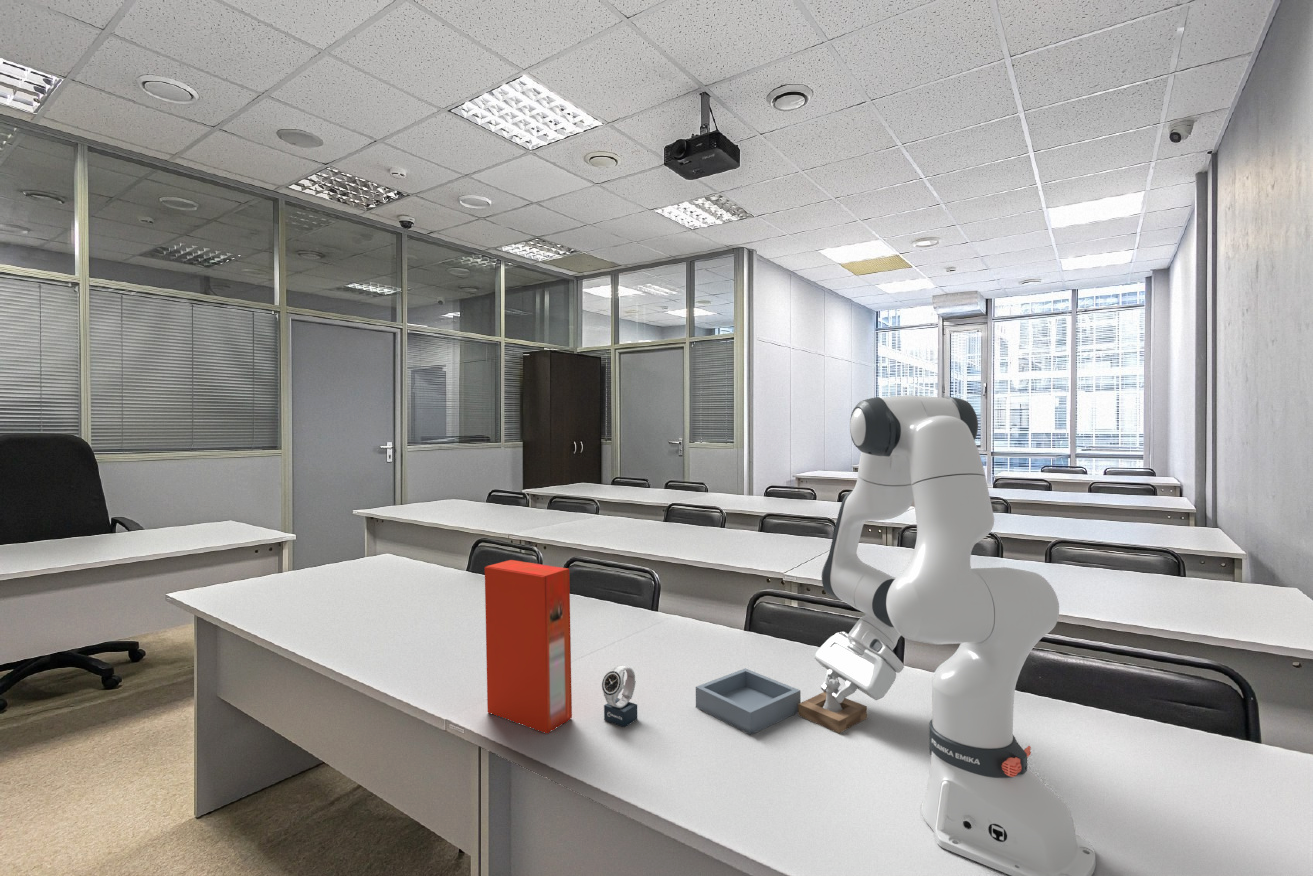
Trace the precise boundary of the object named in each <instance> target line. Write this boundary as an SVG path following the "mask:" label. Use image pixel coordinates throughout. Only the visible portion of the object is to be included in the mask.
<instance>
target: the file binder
mask: <svg viewBox="0 0 1313 876" xmlns="http://www.w3.org/2000/svg"><path fill="white" fill-rule="evenodd" d="M570 581H571V580H570V569H569V568H568V567H567V568H566V567H561V566H553V565H547V564H540V563H534V562H527V561H521V560H514V559H509V560H505V561H501V562H497V563H493V564H490V565H486V566H485V567H484V594H485V595H484V596H485V597H484V598H485V599H484V600H485V601H484V602H485V604H484V607H485V641H486V642H485V643H486V644H485V648H486V651H485V652H486V653H485V654H486V655H485V657H486V694H487V695H486V697H487V699H486V700H487V701H486V702H487V704H486V705H487V713H488V714H490V713H492V714H494V715H493V716H495V715H497V716H496V717H498V716H500V717H499V718H501V717H503V718H502V719H504V718H506V719H509V720H511V721H510V722H512V721H514V722H513V723H515V722H516V723H515V724H518V723H520V724H523V725H525V726H524V727H526V726H527V727H526V728H529V727H531V728H530V729H532V728H534V729H535V731H537V730H539V731H538V732H540V731H542V732H541V733H543V732H545V733H544V734H546V733H548V734H549V732H550V731H551V730H553V731H554V730H556V729H557V728H556V727H558V728H559V727H560V725H561V724H562V725H564V724H565V723H567V722H569V721H570V720H571V719H572V717H573V711H572V710H573V708H572V707H573V705H572V703H573V702H572V701H573V699H572V652H571V651H572V647H571V646H572V644H571V641H572V638H571V596H570V595H571V593H570V592H571V591H570V590H571V589H570V587H571V586H570V585H571V584H570ZM492 714H491V715H492ZM506 719H505V720H506ZM509 720H508V721H509ZM568 720H569V721H568ZM563 723H564V724H563ZM520 724H519V725H520ZM523 725H522V726H523ZM562 725H561V726H562ZM555 728H556V729H555ZM534 729H533V730H534ZM551 732H552V731H551ZM551 732H550V733H551Z"/></svg>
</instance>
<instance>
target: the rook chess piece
mask: <svg viewBox="0 0 1313 876" xmlns="http://www.w3.org/2000/svg"><path fill="white" fill-rule="evenodd" d="M839 681H840V679H839V677H838V678H836V680H835V677H832V679H831V677H828V678H826V681H825V680H824V682H825V685H826V686H827V689H826V692H827V696H826V702H825V704H824V706H823V708H825V709H827V710H829V711H832V712H834V713H837V712H839V711H841V710H843V709H842V708H841V705H840V703H839V702H838V701H836V700H835V699H834V698H833V697H832V694H833V693H834V691H835V690H836V689H837V690H839V687H840V686H841V683H840V682H839Z"/></svg>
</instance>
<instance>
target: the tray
mask: <svg viewBox="0 0 1313 876" xmlns="http://www.w3.org/2000/svg"><path fill="white" fill-rule="evenodd" d="M801 694H802V693H801V690H800V689H798V688H795V687H794V686H790V685H788V684H786V683H783V682H781V681H778V680H775V679H773V678H771V677H769V676H766V675H763V674H761V673H758V672H756V671H753V670H751V669H748V668H742V669H740V670H737V671H735V672H731V673H728V674H727V675H724V676H722V677H718V678H716V679H714V680H710V681H707V682H705V683H702V684H700V685H697V686H695V708H697V709H698V710H701V711H702V712H705V713H706V714H708V715H710V716H712V717H714V718H716V719H718V720H720V721H722V722H724V723H726V724H728V725H730V726H732V727H734V728H736V729H737V730H740V731H742V732H743V733H745V734H747V735H749V736H752V735H754V734H756V733H758V732H761V731H762V730H764V729H767V728H768V727H771V726H772V725H775V724H777V723H779V722H781V721H783V720H785V719H788V718H790V717H791V716H793V715H796V714H797V713H798V714H799V703H801V700H802V699H801Z"/></svg>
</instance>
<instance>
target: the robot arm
mask: <svg viewBox="0 0 1313 876" xmlns="http://www.w3.org/2000/svg"><path fill="white" fill-rule="evenodd" d="M978 430H979V420H978V416H977V413H976V411H975V409H974V407H973V406H972V404H971V403H970V402H968V401H967V400H965V399H962V398H958V397H953V396H944V397H943V396H942V397H939V396H938V397H937V396H923V395H922V396H921V395H919V396H918V395H914V394H913V395H912V394H911V395H910V394H907V395H896V396H895V395H894V396H887V397H879V396H876V397H870V398H866V399H864V400H860V401H859V402H857V404H856V405H855V407H854V408H853V410H852V412H851V415H850V421H849V431H850V437H851V441H852V443H853V445H854V446H855V447H856V448H857V449H858V450H859V452H860V456H859V461H858V462H859V463H858V470H857V477H856V483H855V486H854V488H853V490H850V491H848V492H847V493H846V494H845V496H844V497H843V499H842V501H841V505H840V507H839V511H838V514H837V518H836V523H835V527H834V530H833V534H832V535H833V536H832V540H831V543H830V548H829V552H828V554H827V555H828V556H827V558H826V560H825V563H824V565H823V568H822V571H821V582H822V583H821V584H822V587H823V590H824V592H825V593H826V594H827V595H828V596H830V597H832V598H834V599H836V600H839V601H841V602H844V603H846V604H847V605H849V606H851V607H853V608H854V609H855V610H857V611H860V612H862V613H864V615H863V616H861V617H860V618H859V619H858V621H856V623H855V624H854V626H853V627H852V629H851V630H850V631H849V633H847V632H846V631H840V632H836V633H835V634H834V635H831V636H830V637H828V639H827V640H825V641H824V643H822V645H821V646H820V647H819V648H818V649H816V650H817V651H815V654H814V659H815V661H816V662H818V663H819V665H821V667H823V668H824V669H826V670H827V671H826V672H825V677H824V681H823V683H822V684H821V685H820V689H821V691H823V692H825V693H826V694H827V692H826V689H827V686H826V685H825V681H826V678H828V677H831V679H832V677H835V680H836V678H838V679H839V678H840V679H841V680H843V681H844V686H843V687H841V688H840V689H838V690H837V689H836V690H835V691H834V693H833V694H832V697H833V698H834V699H835V700H836V701H838V702H839V703H841V702H842V701H843V700H844V698H847V697H849V696H851V695H853V694H854V693H856V691H857V690H859V691H860V692H862V693H864V694H866V696H868V697H870V698H872V699H873V700H874V701H878V700H880V699H882V698H884V697H885V695H886V694H887V693H888V692H889V690H890V689H891V687H892V686H893V684H894V683H895V681H896V679H897V674H899V673H900V672H902V671H903V670H904V667H905V664H904V663H903V662H902V661H901V660H900V659H899V658H898V657H897V655H896V654H895V652H894V651H893V650H894V649H895V648H896V646H897V644H898V640H899V639H900V637H902V638H904V639H906V640H909V641H913V642H914V641H915V642H919V643H925V644H931V645H956V644H959V646H958V648H957V649H956V650H955V652H954V654H952V655H951V656H950V657H949V658H947V659H946V660H945V661H943V662H942V663H941V664H939V666H938V667H937V668H936V669H935V671H934V672H933V675H932V679H931V702H932V703H931V704H932V706H931V709H932V711H931V714H932V715H931V720H930V721H929V728H928V729H929V730H928V732H929V733H928V750H929V755H930V767H929V776H928V781H927V786H926V791H925V795H924V798H923V800H922V804H921V807H920V808H921V809H920V810H921V812H920V813H921V816H922V817H923V819H924V821H925V822H926V824H927V825H928V826H929V827H930V828H931V829H932V831H933V832H934V837H935V841H936V843H937V844H938V845H939V847H941V848H943V849H944V850H947V851H949V852H952V853H954V854H956V855H960V856H962V857H964V858H967V859H970V860H971V861H974V862H977V863H979V864H982V865H984V866H986V867H989V868H992V869H993V870H996V871H998V872H1002V873H1003V874H1006V875H1009V876H1093V874H1094V872H1095V870H1096V865H1097V861H1096V860H1097V859H1096V853H1095V850H1094V847H1093V845H1092V844H1091V843H1090V841H1089V840H1087V839H1086V838H1083V837H1081V836H1079V835H1078V834H1077V833H1076V828H1075V827H1076V826H1075V823H1074V820H1073V819H1074V818H1073V816H1072V812H1071V811H1070V809H1069V807H1068V805H1067V804H1066V802H1064V800H1062V799H1061V797H1059V796H1058V795H1057V794H1056V793H1055V792H1054V791H1052V789H1051V788H1050V787H1048V785H1046V784H1045V782H1044V781H1042V780H1041V779H1040V777H1039V776H1037V775H1036V773H1034V772H1033V771H1032V770H1031V769H1030V767H1028V758H1029V757H1030V756H1031V753H1032V751H1031V748H1032V746H1031V745H1028V746H1027V747H1026V748H1024V749H1023V747H1022V746H1021V745H1020V744H1019V742H1018V741H1017V738H1016V737H1015V735H1014V707H1015V706H1014V704H1015V694H1016V693H1015V691H1016V685H1017V682H1018V679H1019V676H1020V673H1021V671H1022V668H1023V666H1024V665H1025V662H1026V660H1027V658H1028V656H1029V654H1030V653H1031V651H1032V650H1033V648H1035V646H1036V645H1037V643H1039V642H1040V641H1041V639H1042V638H1044V637H1045V636H1046V635H1048V634H1049V633H1050V632H1051V631H1053V629H1054V628H1055V627H1056V625H1057V623H1058V620H1059V616H1060V602H1059V598H1058V595H1057V593H1056V592H1055V589H1054V587H1052V585H1051V584H1050V582H1049V581H1048V580H1047V579H1046V578H1045V577H1044V576H1042V575H1041V574H1039V573H1037V572H1034V571H1029V570H1023V569H1018V568H1013V567H1005V566H1004V567H1002V566H1001V567H982V568H981V567H980V568H979V567H978V568H972V567H971V557H972V553H973V552H972V551H973V549H974V547H975V545H976V544H977V543H979V542H980V541H982V540H983V539H985V538H986V537H987V536H988V535H989V534H990V533H991V532H992V530H993V528H994V524H995V515H994V511H993V507H992V506H993V505H992V502H991V496H990V493H989V492H990V491H989V486H988V482H987V478H986V473H985V469H984V464H983V461H982V457H981V454H980V451H979V449H978V446H977V443H976V441H975V440H976V439H977V436H978ZM913 502H914V503H913ZM912 505H914V510H915V520H916V541H915V546H914V549H913V552H912V556H911V557H910V560H909V562H908V564H907V565H906V566H905V568H904V569H903V570H902V571H901V573H900V574H898V575H897V576H896V577H895V576H892V575H890V574H889V573H886V572H884V571H882V570H880V569H877V568H875V567H873V566H871V565H869V564H867V563H865V562H863V561H862V560H861V559H860V558H859V555H858V553H857V550H858V549H859V548H858V547H859V543H860V539H861V535H862V532H863V527H864V525H865V523H866V522H870V521H872V522H873V521H879V522H880V521H886V520H890V519H895V518H897V517H899V516H901V515H903V514H904V513H906V512H907V511H908V510H909V509H910V507H911V506H912Z"/></svg>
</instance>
